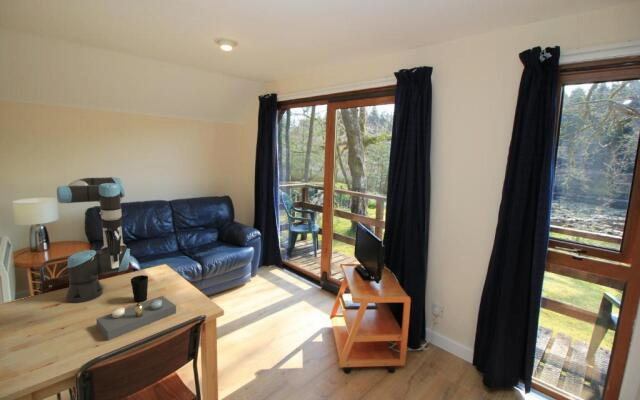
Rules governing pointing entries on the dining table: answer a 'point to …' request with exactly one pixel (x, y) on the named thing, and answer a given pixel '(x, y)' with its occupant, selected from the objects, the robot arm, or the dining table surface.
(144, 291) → the cup
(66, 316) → the dining table surface
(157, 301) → the knob
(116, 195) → the robot arm
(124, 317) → the panel
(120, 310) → the knob
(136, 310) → the trim post
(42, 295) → the dining table surface
